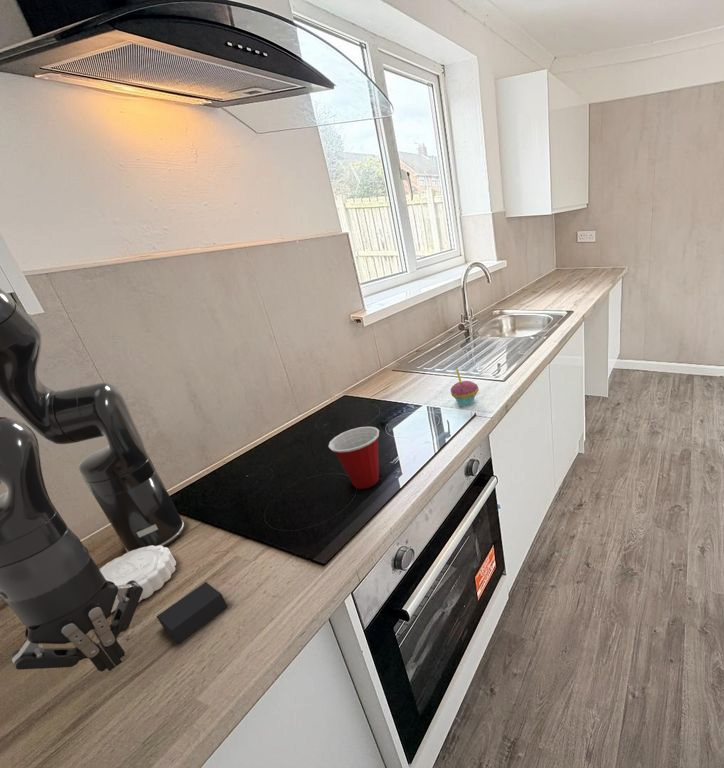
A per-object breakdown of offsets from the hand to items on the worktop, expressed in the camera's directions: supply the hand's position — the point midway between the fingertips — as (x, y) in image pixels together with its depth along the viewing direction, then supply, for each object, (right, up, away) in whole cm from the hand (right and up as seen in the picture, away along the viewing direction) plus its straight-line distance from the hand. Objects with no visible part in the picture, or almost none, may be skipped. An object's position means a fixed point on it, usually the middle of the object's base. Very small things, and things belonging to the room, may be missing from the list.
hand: (113, 663), depth 57 cm
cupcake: (+41, +33, +72) cm, 89 cm away
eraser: (+5, +2, +8) cm, 10 cm away
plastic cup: (+21, +16, +38) cm, 47 cm away
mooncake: (-11, +3, +16) cm, 20 cm away
